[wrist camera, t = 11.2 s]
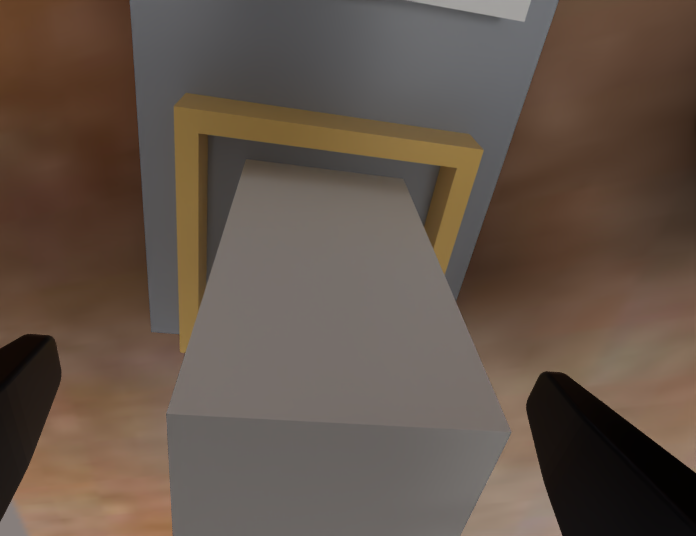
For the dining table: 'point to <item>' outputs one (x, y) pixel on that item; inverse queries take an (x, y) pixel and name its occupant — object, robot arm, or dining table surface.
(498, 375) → the dining table surface
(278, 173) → the plug
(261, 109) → the socket panel
